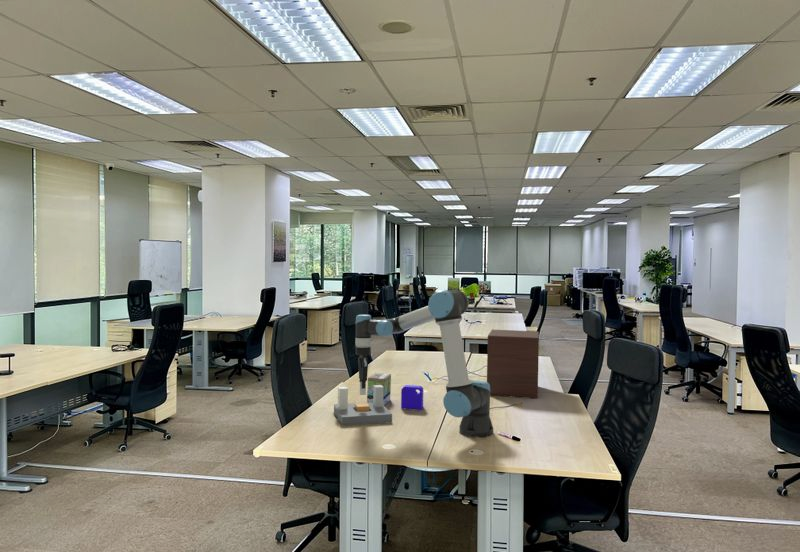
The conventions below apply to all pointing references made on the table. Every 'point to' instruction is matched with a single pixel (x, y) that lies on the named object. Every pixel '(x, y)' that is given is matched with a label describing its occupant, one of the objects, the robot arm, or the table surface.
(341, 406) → the block
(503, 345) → the storage cube
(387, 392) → the tea box
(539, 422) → the table surface
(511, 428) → the table surface
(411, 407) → the bracket
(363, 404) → the button
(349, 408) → the panel
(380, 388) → the light grey tall block
